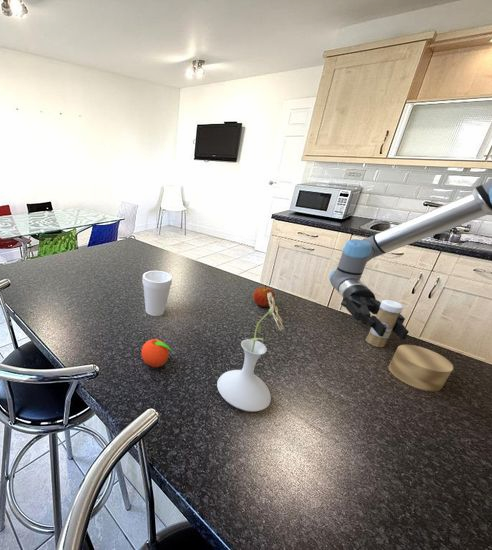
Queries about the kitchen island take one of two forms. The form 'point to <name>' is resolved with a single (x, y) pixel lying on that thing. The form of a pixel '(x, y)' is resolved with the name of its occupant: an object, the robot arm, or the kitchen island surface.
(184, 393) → the kitchen island surface
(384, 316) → the sprinkles bottle
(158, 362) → the clementine
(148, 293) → the foam cup
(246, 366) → the flower in vase
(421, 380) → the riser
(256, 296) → the fruit
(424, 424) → the kitchen island surface
